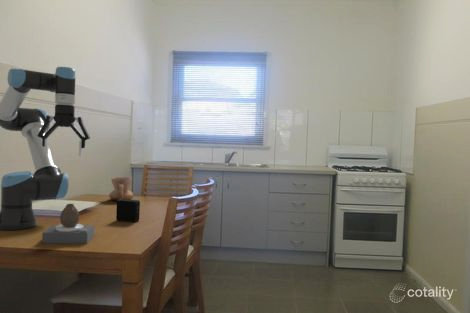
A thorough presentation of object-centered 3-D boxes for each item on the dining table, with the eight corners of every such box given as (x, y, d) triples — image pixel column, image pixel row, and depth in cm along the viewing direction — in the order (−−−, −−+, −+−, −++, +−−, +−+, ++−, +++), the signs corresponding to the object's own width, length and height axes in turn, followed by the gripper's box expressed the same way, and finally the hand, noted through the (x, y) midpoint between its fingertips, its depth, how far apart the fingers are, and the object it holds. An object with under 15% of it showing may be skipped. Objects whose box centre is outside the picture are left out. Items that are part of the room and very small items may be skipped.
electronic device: (135, 222, 181) (136, 201, 180) (116, 220, 183) (116, 200, 182) (139, 220, 185) (139, 200, 184) (120, 219, 187) (121, 198, 186)
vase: (68, 223, 153) (69, 201, 152) (83, 225, 151) (83, 203, 150) (55, 227, 146) (56, 204, 146) (70, 229, 144) (71, 206, 144)
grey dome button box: (42, 243, 141) (42, 230, 141) (52, 234, 153) (52, 222, 153) (87, 243, 144) (87, 230, 144) (94, 235, 156) (94, 223, 155)
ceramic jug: (110, 197, 245) (110, 175, 244) (133, 197, 248) (134, 176, 247) (107, 203, 227) (107, 179, 226) (132, 203, 231) (133, 180, 230)
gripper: (29, 102, 154) (28, 154, 155) (94, 105, 158) (92, 156, 159) (36, 103, 161) (35, 153, 163) (97, 107, 165) (96, 155, 166)
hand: (63, 155), depth 161 cm, fingers open, 13 cm apart
